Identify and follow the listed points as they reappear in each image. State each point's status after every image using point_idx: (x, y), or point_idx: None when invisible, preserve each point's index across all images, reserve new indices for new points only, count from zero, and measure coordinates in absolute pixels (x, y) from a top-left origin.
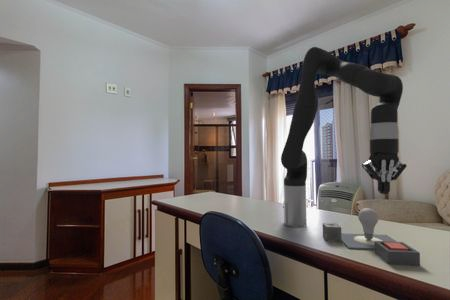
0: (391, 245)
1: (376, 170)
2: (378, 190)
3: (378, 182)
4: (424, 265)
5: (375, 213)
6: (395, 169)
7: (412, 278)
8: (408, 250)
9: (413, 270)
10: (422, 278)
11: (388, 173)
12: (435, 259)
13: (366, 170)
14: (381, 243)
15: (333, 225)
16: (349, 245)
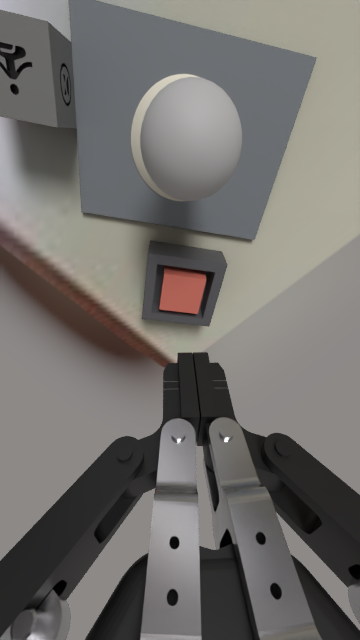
0: (170, 295)
1: (156, 536)
2: (165, 370)
3: (163, 421)
4: (215, 309)
5: (211, 190)
6: (346, 555)
7: (153, 346)
8: (206, 299)
9: (176, 325)
10: (169, 347)
11: (213, 530)
12: (268, 285)
13: (25, 551)
14: (162, 263)
15: (21, 83)
16: (90, 195)
